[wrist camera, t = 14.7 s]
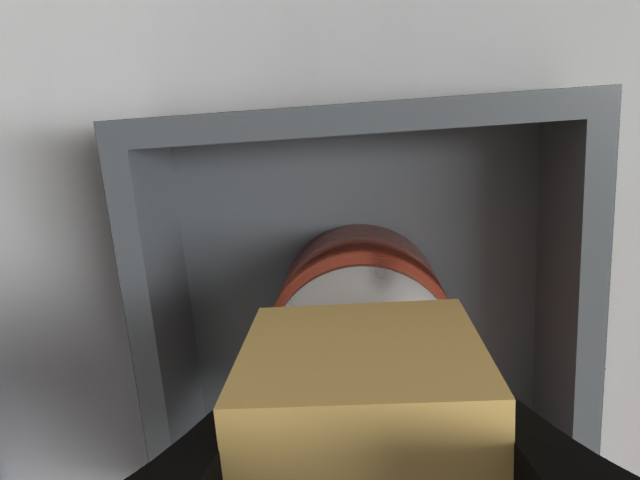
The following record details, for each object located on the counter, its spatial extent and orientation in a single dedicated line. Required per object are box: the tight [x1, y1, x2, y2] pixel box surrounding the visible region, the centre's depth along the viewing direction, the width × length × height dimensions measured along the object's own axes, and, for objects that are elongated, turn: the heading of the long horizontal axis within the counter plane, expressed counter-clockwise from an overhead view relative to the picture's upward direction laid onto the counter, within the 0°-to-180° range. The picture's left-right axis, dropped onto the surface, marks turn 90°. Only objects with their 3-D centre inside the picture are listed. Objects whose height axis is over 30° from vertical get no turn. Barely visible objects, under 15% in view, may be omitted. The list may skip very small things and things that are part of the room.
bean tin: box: [274, 224, 448, 307], centre depth 17 cm, size 5×5×5 cm
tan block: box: [213, 299, 516, 480], centre depth 11 cm, size 5×5×4 cm
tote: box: [93, 84, 622, 462], centre depth 17 cm, size 14×14×4 cm
